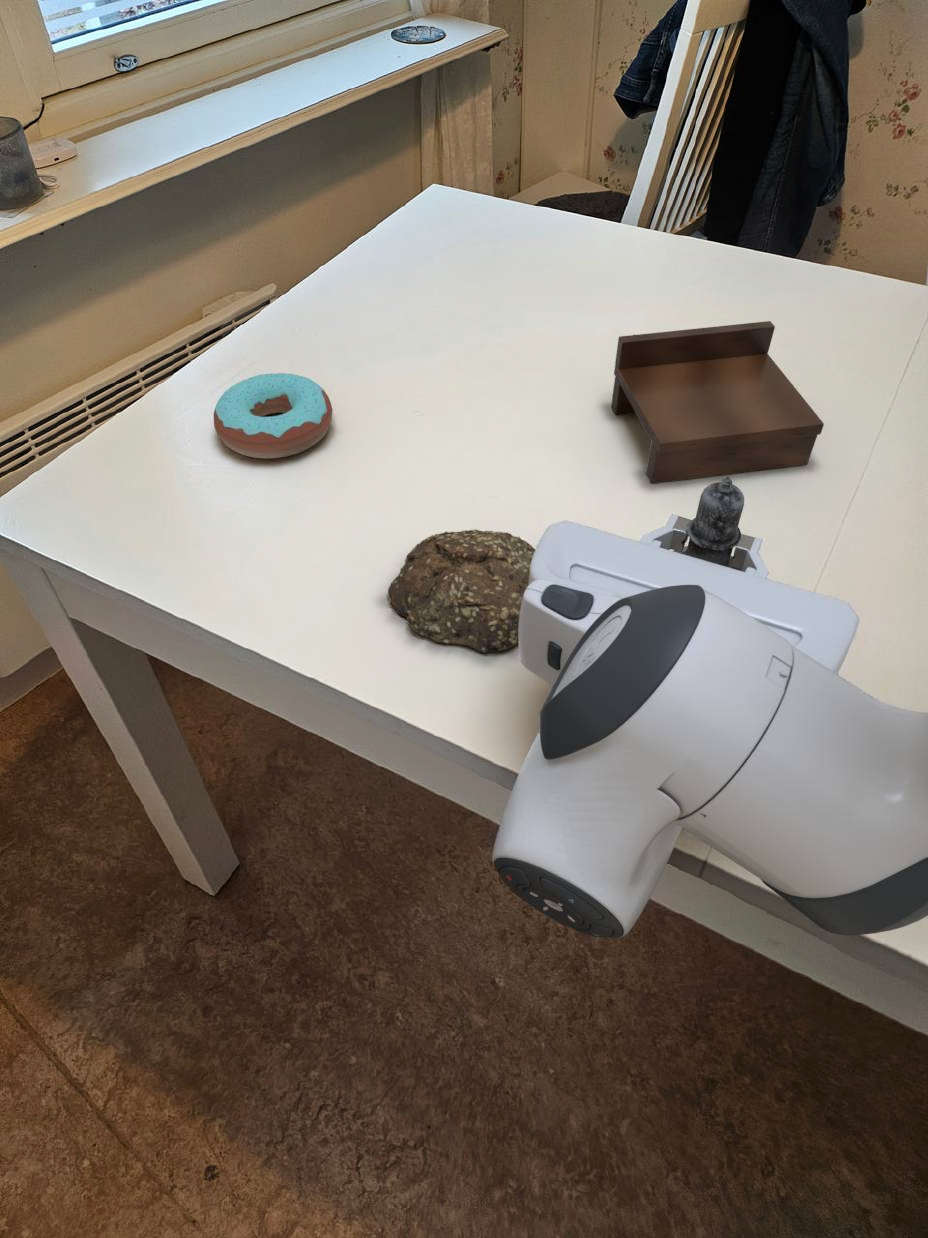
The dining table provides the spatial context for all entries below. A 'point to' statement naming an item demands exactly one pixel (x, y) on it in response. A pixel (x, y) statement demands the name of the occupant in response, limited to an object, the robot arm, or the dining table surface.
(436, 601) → the bread roll
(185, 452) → the dining table surface
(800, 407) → the shelf
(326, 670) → the dining table surface
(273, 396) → the donut
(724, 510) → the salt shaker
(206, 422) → the dining table surface
